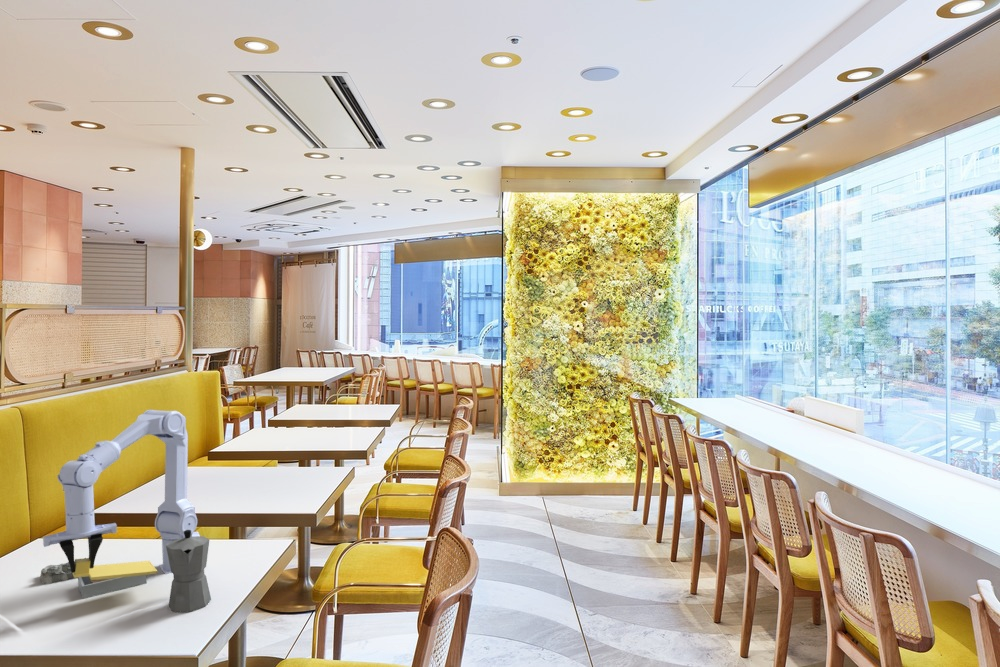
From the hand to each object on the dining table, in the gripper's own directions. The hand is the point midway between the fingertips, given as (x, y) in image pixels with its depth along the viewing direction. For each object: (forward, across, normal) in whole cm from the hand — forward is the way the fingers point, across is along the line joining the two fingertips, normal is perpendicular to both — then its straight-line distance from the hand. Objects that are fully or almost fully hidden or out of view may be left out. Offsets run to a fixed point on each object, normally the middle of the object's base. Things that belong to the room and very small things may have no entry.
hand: (82, 569), depth 156 cm
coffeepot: (+10, -20, +12) cm, 26 cm away
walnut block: (+9, -5, -10) cm, 15 cm away
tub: (+10, -8, -11) cm, 17 cm away
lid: (+3, -7, 0) cm, 7 cm away
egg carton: (+10, +1, -26) cm, 28 cm away
